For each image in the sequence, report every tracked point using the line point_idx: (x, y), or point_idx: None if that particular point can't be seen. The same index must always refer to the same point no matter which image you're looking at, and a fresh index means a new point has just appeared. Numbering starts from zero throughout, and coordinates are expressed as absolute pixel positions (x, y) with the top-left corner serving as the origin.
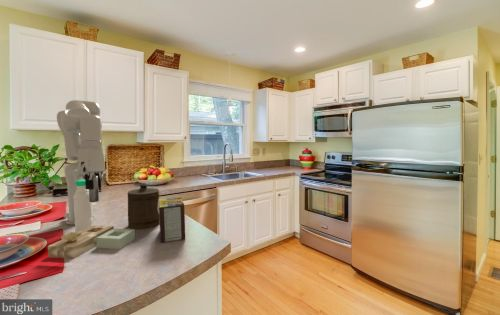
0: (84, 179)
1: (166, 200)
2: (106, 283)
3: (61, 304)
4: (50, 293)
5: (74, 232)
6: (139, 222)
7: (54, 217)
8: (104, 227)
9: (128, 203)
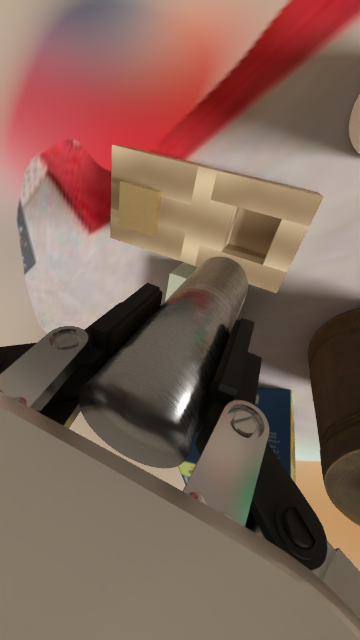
0: (60, 332)
1: None
2: (75, 318)
3: (32, 280)
4: (42, 252)
5: (155, 208)
6: (311, 363)
7: None
8: (270, 264)
9: None
